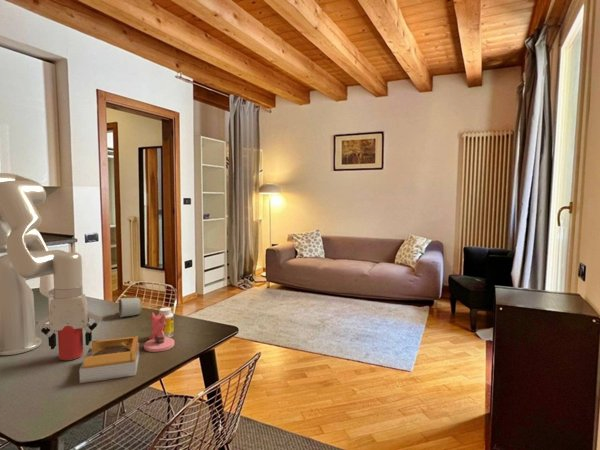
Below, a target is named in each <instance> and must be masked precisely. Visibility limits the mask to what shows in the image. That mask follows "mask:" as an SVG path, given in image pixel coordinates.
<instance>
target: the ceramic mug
mask: <svg viewBox="0 0 600 450" xmlns="http://www.w3.org/2000/svg"><path fill="white" fill-rule="evenodd" d="M142 303H143V302H142V299H141V298H140V297H127V298H126V297H124V298H123V297H122V298H119V300H118V314H119V317H120V318H126V317H132V316H137V315H141V313H142V311H143V310H142V309H143V305H142Z"/></svg>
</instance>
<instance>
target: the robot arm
mask: <svg viewBox="0 0 600 450" xmlns="http://www.w3.org/2000/svg"><path fill="white" fill-rule="evenodd" d="M46 199H47V192H46V189H45V188H44V186H43V185H42V184H41V183H39V182H38V181H36V180H33V179H31V178H27V177H24V176H21V175H18V174H15V173H11V172H10V173H7V172H0V254H3V255H0V356H12V355H19V354H22V353H26V352H29V351H32V350H34V349H35V350H36V349H37V348H38V347H40V346H41V345H42V338H41V337H38V336H37V335H36V334H37V333H36V326H37V327H38V329H39V330H40V331H41V333H43V334H44V335H45V336H46V337H47V339H48V346H49V347H50V350H54V349H55V348H56V346H57V334H56V333H55V332H58V331H61V330H62V329H63V328H64V327H65V326H68V325H69V326H71V327H73V328H74V329H83V331H85V334H84V337H85V339H84V341H85V346H89V345H90V342H92V341H93V333H92V332H93V330H95V328H97V326H98V325H99V323H100V321H101V320H102V317H101V316H100V315H97V314H95V313H92V312H90V311H89V306H88V300H87V297H86V294H84V291H83V290H84V286H83V284H84V283H83V266H82V265H83V263H82V262H83V261H82V256H81V254H80V253H79V252H76V251H75V252H74V251H73V252H72V251H71V252H70V251H69V252H67V251H64V250H61V249H51V250H50V249H49V247H48V246H47V244H46V242H45V240H44V237H43V236H42V234H41V233H40V231H39V229H38V227H39V226H41V224H42V223H43V217H42V215H41V214H40V213H39V211H38V209H37V207H38V206H41V205H43V204H44V203H45V202H46ZM36 206H37V207H36ZM51 274H53V277H54V289H52V290H49V294H52V295H54V296H53V297H52V299H51V303H50V311H49V310H48V316H47V317H46V318H44V319H42V320H40V321H39V322H37V323H36V318H35V315H36V314H35V300H34V299H35V298H34V291H33V289H32V288H31V286H29V285H28V284H27V283H26V281H28V280H33V279H37V278H40V277H42V276H46V275H51ZM90 319H91V320H94V322H93V323H92V324H90V322H89V321H90ZM47 322H49V324H48V327H47V326H46V325H47V324H46V323H47ZM66 323H69V324H66Z"/></svg>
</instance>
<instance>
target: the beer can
mask: <svg viewBox="0 0 600 450" xmlns="http://www.w3.org/2000/svg"><path fill="white" fill-rule="evenodd" d="M66 324H69V323H66ZM83 333H84V329H83V328H82V329H74V328H73V327H71V326H69V325H68V326H65V327H64V328H63V329H62V330H61V331H57V342H58V343H57V344H58V359H59V360H61V361H63V362H64V361H74V360H76V359H78V358H80V357H82V356H83V355H84V335H83Z"/></svg>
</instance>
